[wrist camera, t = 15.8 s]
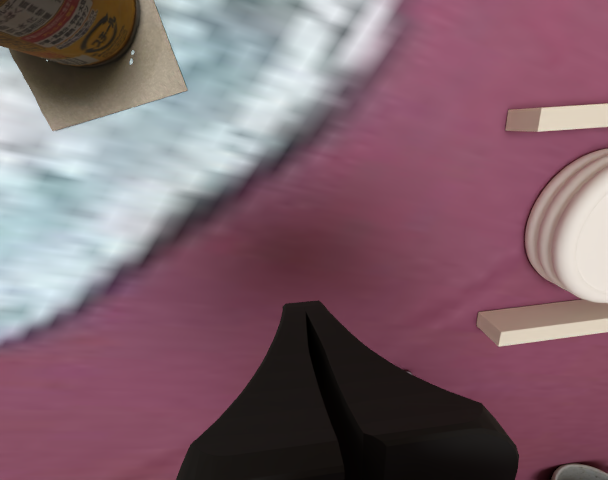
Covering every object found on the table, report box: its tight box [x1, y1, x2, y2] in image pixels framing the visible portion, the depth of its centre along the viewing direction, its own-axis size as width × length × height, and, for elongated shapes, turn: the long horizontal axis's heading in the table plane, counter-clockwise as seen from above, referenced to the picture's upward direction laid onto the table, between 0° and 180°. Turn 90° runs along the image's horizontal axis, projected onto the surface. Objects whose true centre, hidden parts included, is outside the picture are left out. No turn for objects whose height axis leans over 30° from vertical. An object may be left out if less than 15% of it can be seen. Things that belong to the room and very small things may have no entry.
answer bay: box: [476, 103, 608, 347], centre depth 22 cm, size 15×15×2 cm
